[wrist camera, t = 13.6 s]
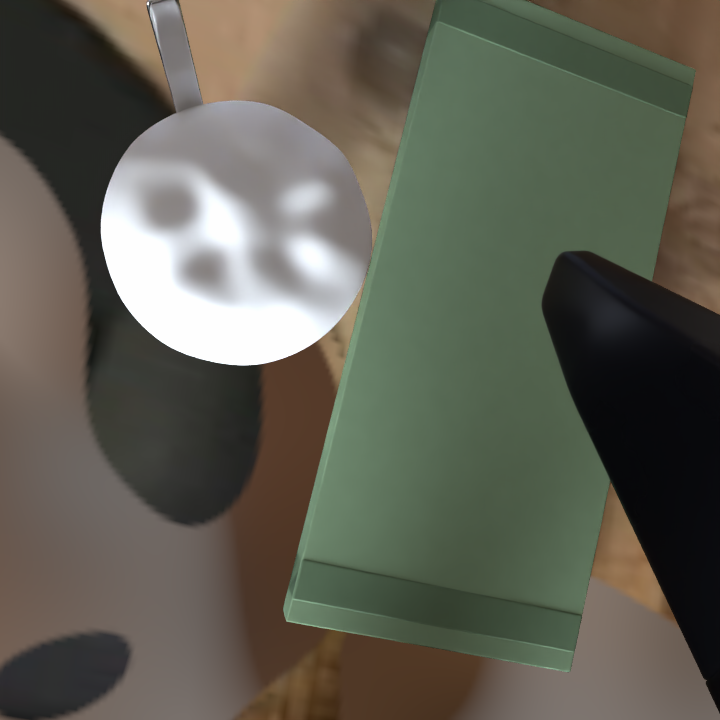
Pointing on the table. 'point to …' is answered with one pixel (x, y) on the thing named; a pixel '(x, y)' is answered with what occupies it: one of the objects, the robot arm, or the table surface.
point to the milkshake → (232, 222)
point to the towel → (485, 339)
